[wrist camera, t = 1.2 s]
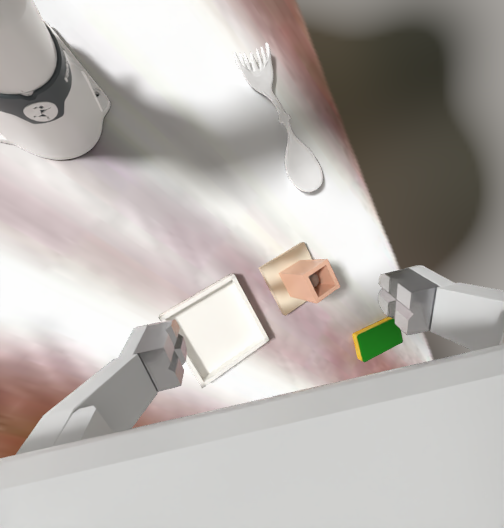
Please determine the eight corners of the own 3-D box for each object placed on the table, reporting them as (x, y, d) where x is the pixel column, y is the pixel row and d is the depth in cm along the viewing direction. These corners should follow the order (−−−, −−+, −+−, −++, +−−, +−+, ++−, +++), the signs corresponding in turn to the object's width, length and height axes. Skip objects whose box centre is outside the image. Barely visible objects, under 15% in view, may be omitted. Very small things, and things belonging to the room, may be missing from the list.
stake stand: (258, 267, 53) (275, 268, 45) (300, 242, 56) (323, 239, 48) (282, 314, 55) (302, 322, 47) (321, 287, 58) (346, 290, 50)
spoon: (262, 53, 54) (268, 39, 50) (323, 185, 59) (333, 180, 56) (228, 63, 51) (232, 49, 48) (295, 201, 56) (303, 197, 53)
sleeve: (278, 273, 53) (303, 274, 43) (299, 260, 54) (327, 259, 45) (290, 296, 54) (316, 303, 44) (310, 283, 55) (340, 286, 46)
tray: (159, 315, 46) (158, 317, 43) (230, 273, 51) (234, 273, 48) (200, 382, 48) (202, 388, 46) (265, 336, 53) (269, 340, 51)
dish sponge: (395, 339, 67) (403, 342, 64) (356, 359, 62) (364, 362, 60) (390, 315, 66) (398, 316, 64) (350, 333, 62) (357, 335, 59)
